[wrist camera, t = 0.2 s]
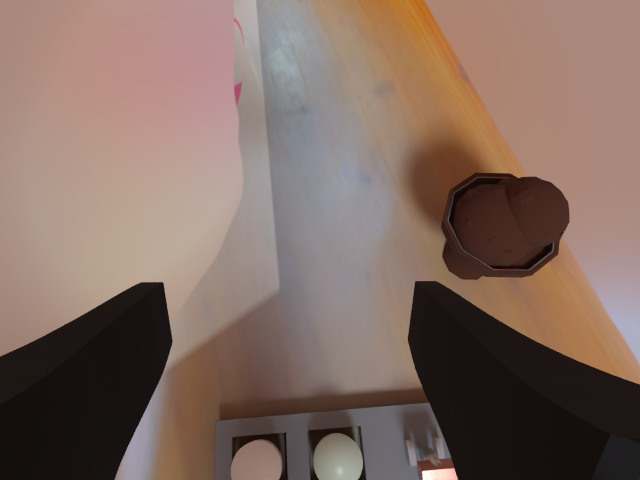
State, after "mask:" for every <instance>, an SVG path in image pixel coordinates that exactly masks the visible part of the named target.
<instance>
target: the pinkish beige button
mask: <svg viewBox="0 0 640 480" xmlns="http://www.w3.org/2000/svg"><path fill="white" fill-rule="evenodd" d="M282 470H283V458H282V455H281V452H280V450H279V449H278V447H277V446H276V445H275V444H274V443H272V442H271V441H268V440H264V439H258V440H254V441H252V442H250V443H248V444H246V445H244V446H243V447H242V448H240V449H239V451H238V452H237V453H236V455H235V456H234V459H233V461H232V465H231V479H232V480H279V478H280V476H281V474H282Z"/></svg>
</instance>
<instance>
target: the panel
mask: <svg viewBox="0 0 640 480" xmlns="http://www.w3.org/2000/svg"><path fill="white" fill-rule="evenodd" d="M353 426H359V429H360V439H361V448H362V457H363V467H364V476H365V480H420V479H419V477H418V471H417V461H421V459H420V457H419V451H420V449H421V448H422V447H424V446H429V447H431V448H432V449H433V450H434V452H435V453H436V454H437V456H438V457H439V459H446V458H451V456H450V453H449V450H448V448H447V445H446V442H445V439H444V437H443V435H442V432H441V430H440V427H439V425H438V423H437V420H436V418H435V415H434V413H433V411H432V408H431V406H430V404H429V403H418V404H406V405H394V406H383V407H371V408H359V409H347V410H336V411H324V412H312V413H300V414H289V415H277V416H265V417H253V418H242V419H230V420H218V421H216V447H215V480H232V479H231V465H232V461H233V459H234V456H235V437H238V436H250V435H261V434H273V433H284V432H286V443H287V468H288V480H311V475H310V458H309V441H308V430H319V429H330V428H342V427H353Z"/></svg>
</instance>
